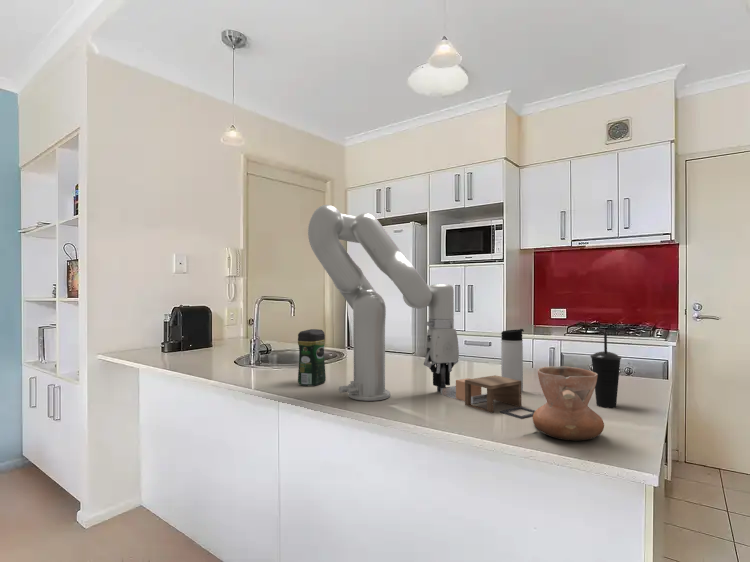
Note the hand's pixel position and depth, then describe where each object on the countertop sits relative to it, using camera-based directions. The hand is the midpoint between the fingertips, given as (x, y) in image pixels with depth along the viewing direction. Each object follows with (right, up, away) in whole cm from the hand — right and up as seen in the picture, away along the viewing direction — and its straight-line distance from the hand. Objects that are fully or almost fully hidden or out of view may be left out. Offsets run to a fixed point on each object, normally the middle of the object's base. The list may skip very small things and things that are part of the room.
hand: (441, 384), depth 136 cm
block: (+6, -2, -10) cm, 12 cm away
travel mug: (+22, -3, +1) cm, 22 cm away
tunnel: (+11, -3, -17) cm, 21 cm away
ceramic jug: (+22, -3, -37) cm, 43 cm away
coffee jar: (-42, -4, +17) cm, 45 cm away
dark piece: (+16, -3, -25) cm, 30 cm away
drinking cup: (+44, -3, -12) cm, 46 cm away
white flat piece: (+4, -3, -6) cm, 8 cm away
